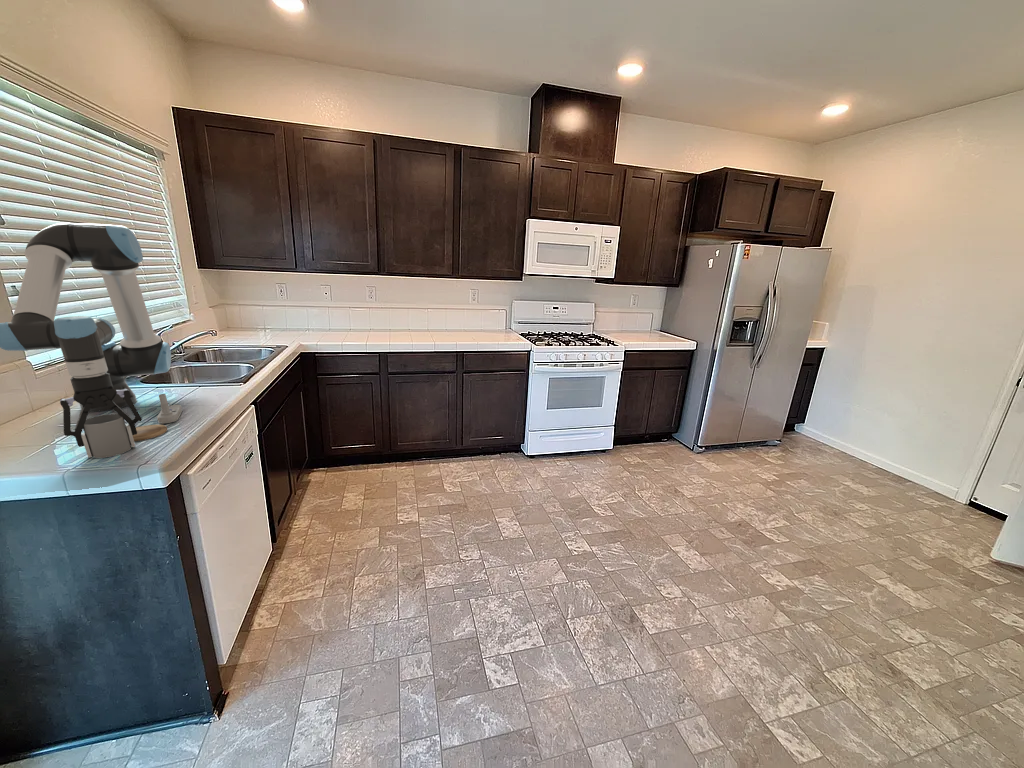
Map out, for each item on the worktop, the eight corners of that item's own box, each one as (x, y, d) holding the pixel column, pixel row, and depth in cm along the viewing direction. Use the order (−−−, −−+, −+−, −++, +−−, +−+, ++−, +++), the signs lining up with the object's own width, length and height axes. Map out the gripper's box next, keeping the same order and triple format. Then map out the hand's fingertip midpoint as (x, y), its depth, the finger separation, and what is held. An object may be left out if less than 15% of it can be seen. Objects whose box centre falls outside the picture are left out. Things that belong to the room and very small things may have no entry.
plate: (114, 434, 129) (113, 431, 128) (163, 423, 137) (162, 421, 137) (119, 445, 121) (119, 442, 121) (171, 434, 130) (170, 431, 129)
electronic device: (177, 385, 148) (170, 395, 136) (183, 410, 151) (177, 422, 138) (158, 387, 146) (150, 397, 133) (165, 413, 148) (157, 426, 136)
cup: (135, 442, 123) (127, 411, 120) (126, 454, 116) (117, 421, 113) (97, 448, 119) (88, 416, 116) (86, 460, 112) (75, 426, 109)
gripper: (30, 385, 100) (58, 467, 107) (143, 370, 116) (161, 443, 122) (30, 379, 105) (57, 458, 112) (139, 365, 120) (157, 435, 127)
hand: (111, 450), depth 117 cm, fingers closed on cup, 8 cm apart
